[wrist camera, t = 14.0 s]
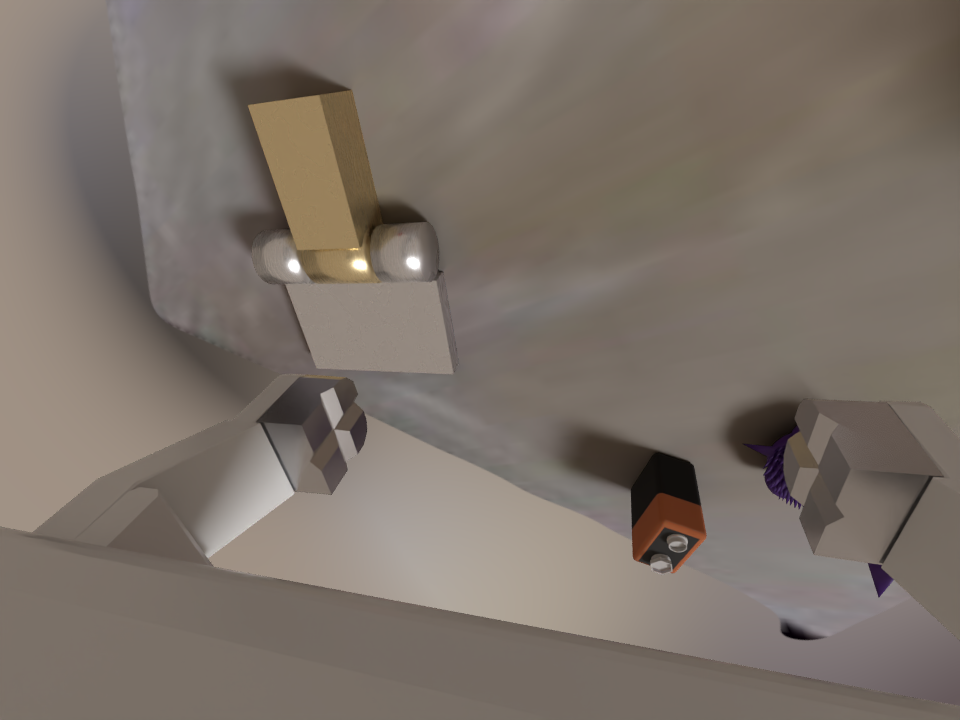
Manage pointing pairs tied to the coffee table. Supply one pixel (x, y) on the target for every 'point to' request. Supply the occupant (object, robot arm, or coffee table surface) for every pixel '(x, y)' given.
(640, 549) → the battery
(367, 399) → the coffee table surface
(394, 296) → the plate with metal balls
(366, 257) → the gold bar
